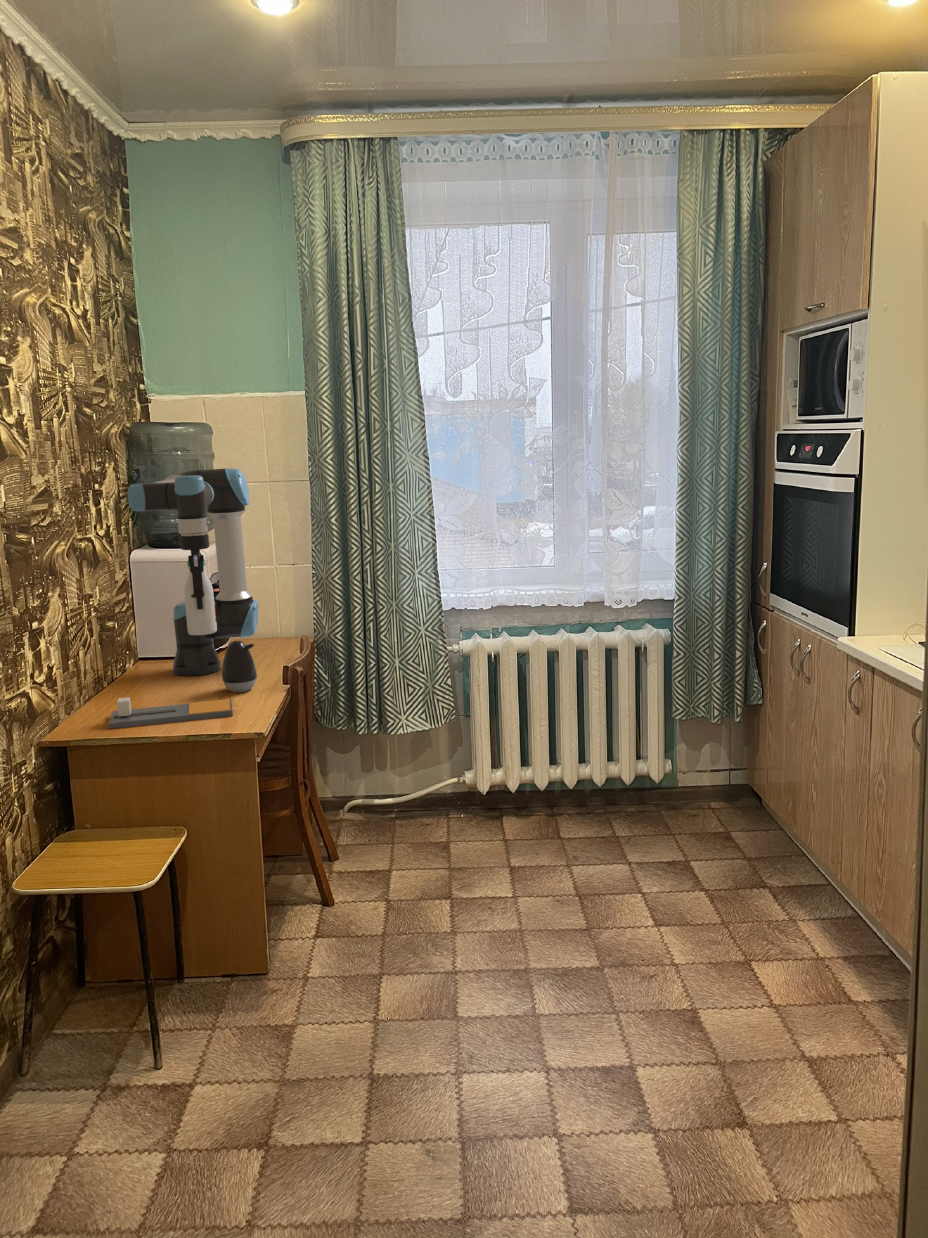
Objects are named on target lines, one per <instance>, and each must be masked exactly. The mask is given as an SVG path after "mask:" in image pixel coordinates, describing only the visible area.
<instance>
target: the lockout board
mask: <svg viewBox="0 0 928 1238" xmlns="http://www.w3.org/2000/svg"><path fill="white" fill-rule="evenodd" d="M233 716H234V715H233V701H232V699H229V698H228V699H218V700H211V701H209V700H208V701H198V702H191V703H190V702H188V703H183V704H180V703H179V704H172V705H171V704H169V705H163V706H161V705H160V706H152V707H142V708H140V707H139V708H133V709H132V708H131V715H129V716H118V710H112V712H111V714H110V718H109V720H108V723H107V725H108V729H109V730H111V729H112V730H113V729H121V728H130V727H140V726H149V725H159V724H160V725H161V724H168V723H179V722H188V721H199V720H206V719H216V718H224V717H225V718H226V717H227V718H229V717H233Z"/></svg>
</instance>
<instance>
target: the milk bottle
mask: <svg viewBox="0 0 928 1238" xmlns="http://www.w3.org/2000/svg"><path fill="white" fill-rule="evenodd" d="M203 569H204V571H203V572H202V581H203V592H204V597H205V608H206V620H207V621H196V615H195V604H194V598H191V595H193V593H194V590H193V578H192V573H191V572H190V563H189V561H188V560H187V570H188V576H187V580H186V583H185V585H184V601H185V607H186V618H187V629H188V633H189V634H190V635H207V634H212V633H215V632H216V631H217V623H216V612H215V602H216V600H215V596H214V594H215V593H214V588H213V584H212V582H211V581H210V579H209V578H208V575H207V573H206V560H205V559H204V562H203Z"/></svg>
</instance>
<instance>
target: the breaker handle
mask: <svg viewBox="0 0 928 1238" xmlns="http://www.w3.org/2000/svg"><path fill="white" fill-rule="evenodd" d="M116 706H117V707H116V708H117V711H118V716H129V715H131V709H132V705H131V697H128V696H127V697H119V698H117V701H116Z"/></svg>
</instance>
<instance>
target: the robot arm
mask: <svg viewBox="0 0 928 1238" xmlns="http://www.w3.org/2000/svg"><path fill="white" fill-rule="evenodd" d="M127 501H128V506H129V508H130V509H131V511H134V512H142V513H143V512H153V511H155V512H156V511H176V512H177V513H176V514H177V515H176V516H177V527H178V534H179V535H180V536H179V548H180V549H181V550H183V551H190V555H188V558H187V559H188V560H187V562H188V561H189V563H190V572H191V573H192V578H193V590H194V593H193V595H191V598H194V604H195V615H196V621H207V620H206V608H205V597H204V592H203V581H202V572H203V571H204V569H203V562H204V560H205V558H204V557H205V555H204V554H202V553H201V550H205V549H208V548H210V540H209V539H210V537H209V535H208V533H207V532H208V531H209V529H208V528H209V527H208V525H210V523H211V522H210V520H207V519H208V516H207V514H208V515H209V516H210V517H212V521H213V530H214V543H215V553H216V554H215V556H216V563H217V566H216V567H217V575H218V587H219V593H218V594H217V595H216V596H215V612H216V623H217V631H216V632H215V633H212V634H207V635H190V634H189V633H188V629H187V618H186V607H185V600H184V601H181V602H179V603H177V604H176V605H174V607H173V624H174V625H173V626H174V634H175V635H174V636H175V643H176V652H175V654H174V655H175V656H174V660H173V664H172V670H173V674H174V675H176V676H180V677H181V676H182V677H183V676H184V677H192V676H193V677H194V676H204V675H208V674H213V673H216V672H218V671H219V672H220V670H221V669H222V662H221V659H220V656H219V655H218V653H217V650H216V648H215V644H214V639H224V638H227V639H228V638H243V637H244V638H245V637H252V636H254V635H255V633H256V631H257V628H258V622H259V602H258V600H256V599H253V593H251V592H250V591H248V587H247V584H248V583H247V574H246V572H247V571H246V561H245V552H244V551H245V550H244V542H243V541H244V540H243V539H244V537H243V528H242V527H243V526H242V515H243V514H244V513H245V512H246V507H247V506H249V505H250V491H249V488H248V483H247V480H246V477H245V475H244V472H243V471H242V470H241V469H240V468H239V469H238V468H216V469H215V468H213V469H212V468H211V469H191V470H187V471H183V472H180V473H176V474H173V475H169V476H167V477H166V478H164V479H163V480H160V481H159V480H158V481H154V482H149V483H141V482H140V483H133V484H130V485H129V487H128V489H127Z"/></svg>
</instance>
